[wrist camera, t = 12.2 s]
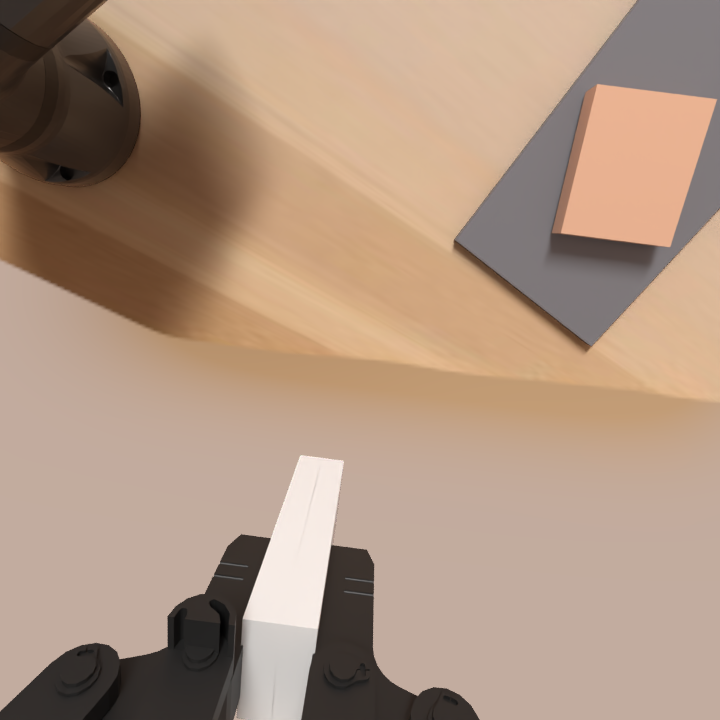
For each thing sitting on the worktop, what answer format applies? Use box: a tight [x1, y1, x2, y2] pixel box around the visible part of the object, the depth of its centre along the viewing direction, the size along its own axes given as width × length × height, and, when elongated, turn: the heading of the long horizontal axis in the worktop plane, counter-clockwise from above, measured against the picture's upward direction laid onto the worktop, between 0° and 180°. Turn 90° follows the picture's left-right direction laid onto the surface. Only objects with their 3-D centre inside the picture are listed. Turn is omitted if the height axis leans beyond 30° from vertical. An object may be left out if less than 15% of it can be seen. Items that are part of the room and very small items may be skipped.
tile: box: [552, 84, 717, 247], centre depth 39 cm, size 2×10×12 cm
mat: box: [454, 0, 720, 346], centre depth 41 cm, size 18×28×1 cm, turn 144°
